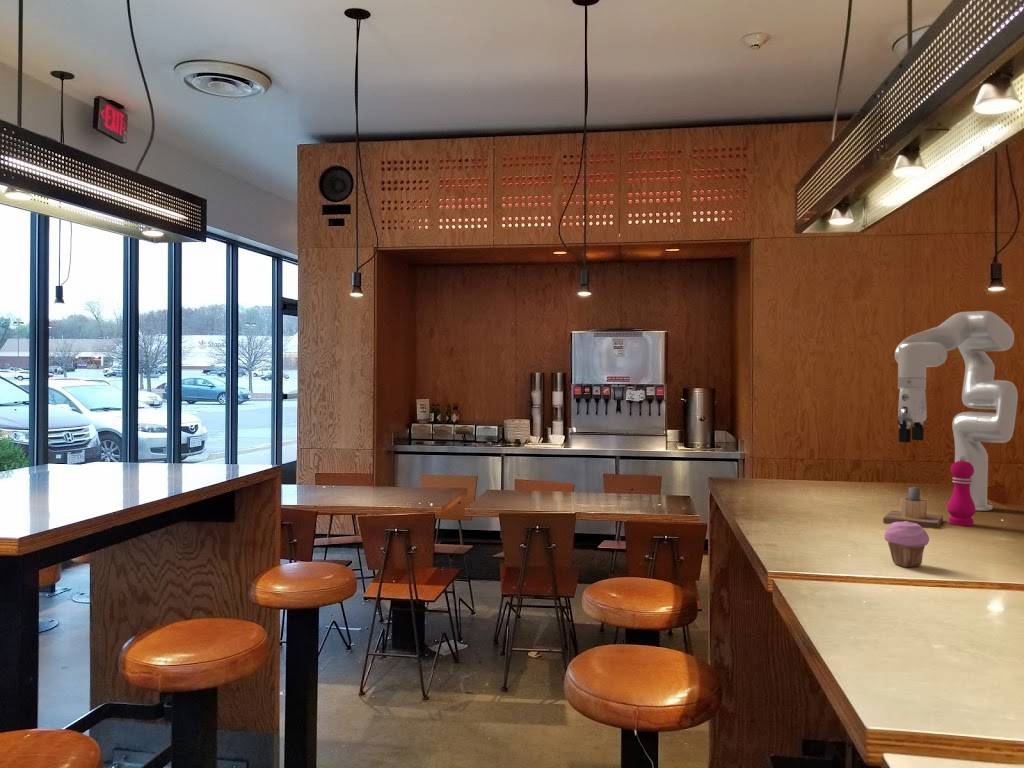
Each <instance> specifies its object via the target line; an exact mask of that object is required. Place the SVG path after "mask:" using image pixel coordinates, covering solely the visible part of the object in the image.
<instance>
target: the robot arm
mask: <svg viewBox="0 0 1024 768" xmlns="http://www.w3.org/2000/svg"><path fill="white" fill-rule="evenodd" d="M1014 342H1015V333H1014V330H1013V329H1012V327H1011V326H1010V325H1009V324H1008V323H1007V322H1006V321H1005V320H1003V318H1001V317H1000V316H999V315H998V314H996V313H995V312H993V311H990V310H977V311H975V310H974V311H960V312H957V313H954V314H952V315H951V316H949V318H947V319H946V320H945V321H943V322H941V324H939V325H938V326H935V327H932V328H929V329H926V330H923V331H920V332H918V333H914V334H912V335H909V336H908V337H905V338H904V339H903V340H902V341H901V342H900V343H899V344H898V345H897V346H896V348H895V350H894V360H895V362H896V363H897V389H898V390H899V395H898V408H897V409H898V410H897V411H898V412H897V413H898V414H897V418H898V421H897V423H898V442H899V443H911V441H924V435H925V434H924V433H925V432H924V430H925V429H924V428H925V423H924V422H925V421H927V418H928V414H927V413H928V411H927V396H926V389H927V368H934V367H935V368H937V367H939V366H942V365H943V364H944V363H945V362H946V361H947V358H948V352H950V351H953V350H955V349H956V348H958V351H959V352H960V355H961V356H962V358H963V361H964V366H965V367H964V376H963V383H962V391H961V401H962V404H963V405H964V406H965V407H966V408H970V409H976V410H978V409H979V410H995V412H985V411H982V412H981V411H963V412H959V413H957V414H956V415H955V416H954V417H953V419H952V433H953V440H954V463H955V462H957V461H960V460H959V457H960V456H965V457H966V460H965V461H966V462H969V463H970V464H972V466H973V468H974V474H973V475H972V476H971V479H972V480H971V482H972V483H971V484H970V494H971V497H972V500H973V502H974V504H975V510H976V511H981V512H982V511H983V512H985V511H986V512H987V511H992V510H993V505H990V504H988V478H989V477H988V475H989V472H988V471H989V454H988V452H987V449H986V448H985V447H984V445H983V444H982V443H996V444H997V443H998V444H999V443H1000V444H1003V443H1004V444H1005V443H1009V441H1010V440H1011V439H1012V438H1013V435H1014V430H1015V424H1016V417H1017V410H1018V400H1019V399H1018V397H1019V396H1018V395H1019V394H1018V389H1017V387H1016V385H1015V384H1014V383H1013V382H1012V381H1009V380H1005V379H1004V380H1002V379H1001V380H1000V379H994V378H995V370H996V367H995V364H994V362H993V360H992V359H991V357H990V356H989V355H988V354H987V353H986V352H1004V351H1007V350H1010V349H1011V348H1012V347H1013V346H1014ZM911 425H912V426H911ZM981 442H982V443H981Z"/></svg>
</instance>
